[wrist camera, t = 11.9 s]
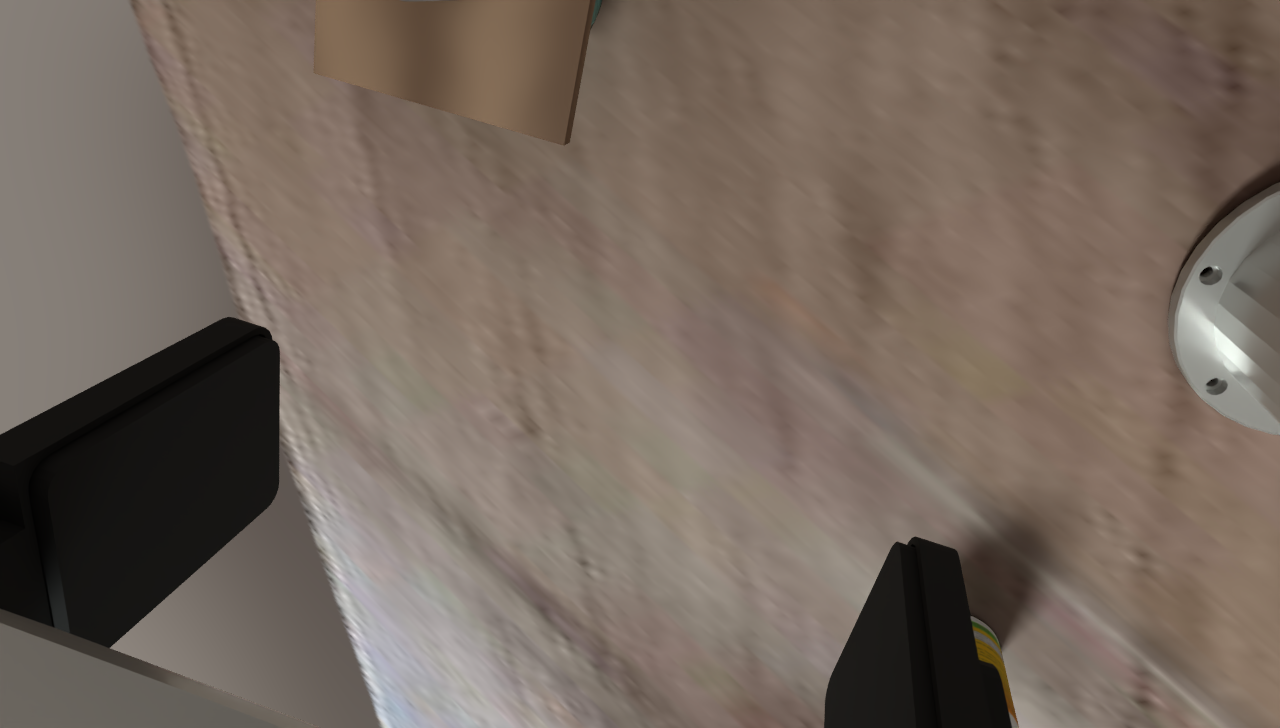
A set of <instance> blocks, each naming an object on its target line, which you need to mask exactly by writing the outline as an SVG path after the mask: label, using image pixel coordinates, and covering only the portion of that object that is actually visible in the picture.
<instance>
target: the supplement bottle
mask: <svg viewBox="0 0 1280 728" xmlns="http://www.w3.org/2000/svg"><path fill="white" fill-rule="evenodd" d="M971 621H972V626H973V631H974V637H975V642H976V647H977V652H978V657H979V660H982V661H985V662H987V663H990V664H993V665H994V666H995V667H996V668H997V669H998V671H999V674H1000V677H1001V680H1002V684H1003V688H1004V693H1005V697H1006V702H1007V706H1008V711H1009V715H1010V720H1011V724H1012V728H1019V726H1018V721H1017V718H1016V713H1015V709H1014V705H1013V701H1012V697H1011V692H1010V688H1009V683H1008V679H1007V674H1006V670H1005V666H1004V661H1003V656H1002V652H1001V648H1000V644H999V641H998V639H997V637H996V635H995V634H994V632H993V631H992V630H991V628H990V627H988V626H987V625H986V624H985V623H983V622H982V621H980V620H979V619H977V618H975V617H972V616H971Z"/></svg>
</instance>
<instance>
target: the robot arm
mask: <svg viewBox="0 0 1280 728" xmlns="http://www.w3.org/2000/svg"><path fill="white" fill-rule="evenodd" d="M1207 267H1209V270H1208V271H1207V272H1206V273H1204V274H1200V273H1201V272H1202V271H1203V270H1204V268H1207ZM1168 333H1169V344H1170V347H1171V350H1172V353H1173V356H1174V359H1175V362H1176V365H1177V366H1178V368H1179V370H1180V371H1181V373H1182V374H1183V376H1184V378H1185V379H1186V381H1187V382H1188V384H1189V385H1190V386H1191V387H1192V388H1193V390H1194V391H1195V392H1196V393H1197V394H1198V395H1199V396H1200V397H1201V399H1202V400H1204V401H1205V402H1206V403H1207V404H1209V405H1210V406H1211V407H1213V408H1214V409H1215V410H1216V411H1218V412H1219V413H1220V414H1222V415H1223V416H1225V417H1227V418H1229V419H1231V420H1233V421H1235V422H1237V423H1239V424H1241V425H1243V426H1245V427H1249V428H1252V429H1255V430H1259V431H1262V432H1266V433H1269V434H1273V435H1280V182H1279V183H1276V184H1274V185H1272V186H1270V187H1268V188H1267V189H1265V190H1263V191H1262V192H1260V193H1258V194H1257V195H1255V196H1253V197H1252V198H1250V199H1248V200H1246V201H1245V202H1243V203H1242V204H1241V205H1239V206H1238V207H1237V208H1236V209H1234V210H1233V211H1232V212H1231V213H1229V214H1228V215H1227V216H1226V217H1225V218H1223V219H1222V220H1221V221H1220V222H1218V223H1217V224H1216V225H1215V226H1214V228H1213V229H1212V230H1211V231H1210V232H1209V233H1208V234H1207V235H1206V236H1205V238H1204V239H1203V240H1202V241H1201V242H1200V243H1199V244H1198V245H1197V246H1196V248H1195V250H1194V251H1193V253H1192V254H1191V256H1190V257H1189V259H1188V261H1187V262H1186V264H1185V265H1184V267H1183V269H1182V270H1181V272H1180V275H1179V278H1178V280H1177V283H1176V285H1175V288H1174V290H1173V293H1172V295H1171V302H1170V308H1169V314H1168ZM1212 379H1213V380H1212ZM1210 380H1212V381H1211V382H1209V381H1210ZM279 394H280V350H279V346H278V344H277V343H276V342H275V341H273V340H272V336H271V333H270V331H269V330H267V329H266V328H264V327H261V326H258V325H255V324H252V323H249V322H245V321H242V320H239V319H236V318H232V317H227V318H224V319H221V320H219V321H217V322H215V323H213V324H211V325H210V326H208V327H206V328H204V329H202V330H200V331H198V332H196V333H194V334H192V335H191V336H188V337H187V338H185V339H183V340H181V341H179V342H177V343H175V344H174V345H171V346H169V347H167V348H166V349H164V350H162V351H160V352H158V353H156V354H154V355H152V356H150V357H148V358H146V359H145V360H143V361H141V362H139V363H137V364H135V365H133V366H131V367H129V368H127V369H125V370H123V371H121V372H120V373H118V374H116V375H114V376H112V377H110V378H108V379H106V380H104V381H103V382H100V383H99V384H97V385H95V386H93V387H91V388H89V389H87V390H85V391H83V392H81V393H79V394H77V395H75V396H74V397H72V398H70V399H68V400H66V401H64V402H62V403H60V404H58V405H56V406H54V407H53V408H51V409H49V410H47V411H45V412H43V413H41V414H39V415H37V416H35V417H33V418H31V419H30V420H28V421H26V422H24V423H22V424H20V425H18V426H16V427H14V428H12V429H10V430H9V431H7V432H5V433H3V434H1V435H0V728H320V727H317V726H315V725H312V724H310V723H307V722H304V721H301V720H299V719H296V718H294V717H291V716H288V715H286V714H283V713H280V712H278V711H275V710H273V709H270V708H267V707H265V706H262V705H259V704H257V703H254V702H252V701H249V700H246V699H243V698H241V697H238V696H236V695H233V694H230V693H228V692H225V691H222V690H220V689H217V688H214V687H212V686H209V685H206V684H204V683H201V682H198V681H196V680H193V679H190V678H188V677H185V676H182V675H180V674H177V673H174V672H172V671H169V670H166V669H164V668H161V667H158V666H155V665H153V664H150V663H148V662H145V661H142V660H139V659H137V658H134V657H131V656H129V655H126V654H123V653H121V652H118V651H115V650H112V649H110V647H111V646H112V645H113V644H115V642H117V641H118V640H119V639H120V638H121V637H122V636H123V635H125V634H126V633H127V632H128V631H129V630H130V629H131V628H133V627H134V626H135V625H136V624H137V623H138V622H139V621H140V620H141V619H142V618H144V617H145V616H146V615H147V614H148V613H149V612H151V611H152V610H153V609H154V608H155V607H156V606H157V605H158V604H160V603H161V602H162V601H163V600H164V599H165V598H166V597H167V596H168V595H169V594H171V593H172V592H173V591H174V590H175V589H176V588H178V587H179V586H180V585H181V584H182V583H183V582H184V581H185V580H187V579H188V578H189V577H190V576H191V575H192V574H193V573H194V572H196V571H197V570H198V569H199V568H200V567H201V566H202V565H203V564H205V563H206V562H207V561H208V560H209V559H210V558H211V557H213V556H214V555H215V554H216V553H217V552H218V551H219V550H220V549H222V548H223V547H224V546H225V545H226V544H227V543H228V542H229V541H230V540H232V539H233V538H234V537H235V536H236V535H237V534H238V533H239V532H240V531H242V530H243V529H244V528H245V527H246V526H247V525H248V524H250V523H251V522H252V521H253V520H254V519H255V518H256V517H257V516H259V515H260V514H261V513H262V512H263V511H264V510H265V509H267V507H268V506H269V505H270V504H271V503H272V501H273V500H274V498H275V496H276V494H277V491H278V486H279ZM824 728H1012V724H1011V720H1010V715H1009V711H1008V706H1007V702H1006V697H1005V693H1004V688H1003V684H1002V680H1001V677H1000V674H999V671H998V669H997V668H996V667H995V666H994V665H993V664H990V663H987V662H985V661H982V660H979V657H978V652H977V647H976V642H975V637H974V631H973V626H972V621H971V616H970V611H969V606H968V601H967V596H966V590H965V585H964V580H963V575H962V570H961V565H960V560H959V555H958V552H957V551H956V550H955V549H953V548H950V547H946V546H943V545H940V544H937V543H934V542H931V541H928V540H925V539H921V538H918V537H913V538H912V539H911V540H910V541H909V542H908V544H907V545H906V544H903V543H899V542H896V543H895V544H894V545H893V546H892V548H891V550H890V552H889V554H888V556H887V558H886V560H885V562H884V565H883V567H882V569H881V571H880V573H879V575H878V577H877V579H876V581H875V584H874V586H873V588H872V590H871V592H870V594H869V596H868V598H867V601H866V603H865V605H864V607H863V609H862V611H861V613H860V615H859V618H858V620H857V622H856V624H855V626H854V628H853V630H852V632H851V635H850V637H849V639H848V641H847V643H846V645H845V647H844V649H843V651H842V654H841V656H840V658H839V660H838V662H837V664H836V666H835V668H834V671H833V673H832V675H831V678H830V681H829V684H828V688H827V692H826V699H825V722H824Z"/></svg>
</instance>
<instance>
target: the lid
mask: <svg viewBox="0 0 1280 728" xmlns="http://www.w3.org/2000/svg"><path fill="white" fill-rule="evenodd" d="M595 1H596V0H316V15H315V46H314V73H315V74H319V75H322V76H326V77H329V78H332V79H336V80H339V81H343V82H346V83H350V84H353V85H357V86H360V87H364V88H367V89H370V90H374V91H377V92H381V93H384V94H388V95H391V96H395V97H398V98H402V99H405V100H408V101H412V102H415V103H419V104H422V105H426V106H429V107H433V108H436V109H440V110H443V111H446V112H450V113H453V114H457V115H460V116H464V117H467V118H471V119H474V120H478V121H481V122H484V123H488V124H491V125H495V126H498V127H502V128H505V129H509V130H512V131H516V132H519V133H522V134H526V135H529V136H533V137H536V138H540V139H543V140H547V141H550V142H554V143H557V144H560V145H566V144H568V143H570V138H571V132H572V127H573V121H574V116H575V110H576V105H577V99H578V94H579V88H580V83H581V77H582V72H583V66H584V61H585V56H586V50H587V45H588V39H589V34H590V28H591V23H592V17H593V12H594V6H595Z"/></svg>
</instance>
